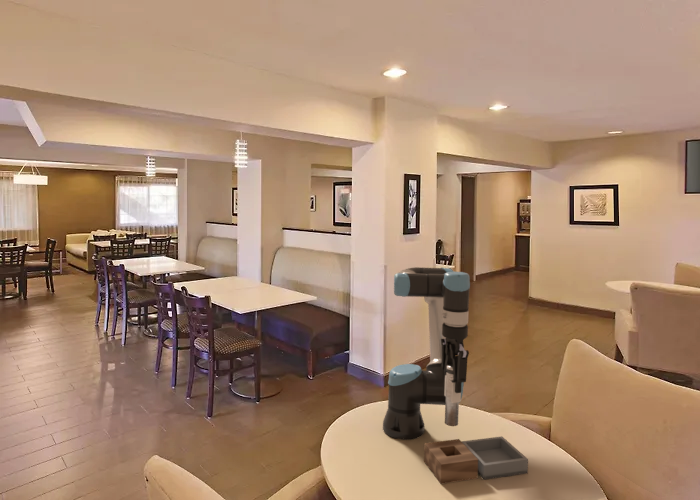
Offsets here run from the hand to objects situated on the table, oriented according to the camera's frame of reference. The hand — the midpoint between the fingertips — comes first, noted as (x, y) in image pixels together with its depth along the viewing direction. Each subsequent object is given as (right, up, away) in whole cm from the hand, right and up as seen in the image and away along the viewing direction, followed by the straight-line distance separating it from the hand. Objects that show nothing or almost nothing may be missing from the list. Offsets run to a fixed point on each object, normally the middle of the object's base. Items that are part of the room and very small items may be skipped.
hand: (452, 398), depth 135 cm
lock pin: (0, -8, +1) cm, 8 cm away
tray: (+14, -22, +6) cm, 27 cm away
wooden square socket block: (0, -23, +2) cm, 23 cm away
